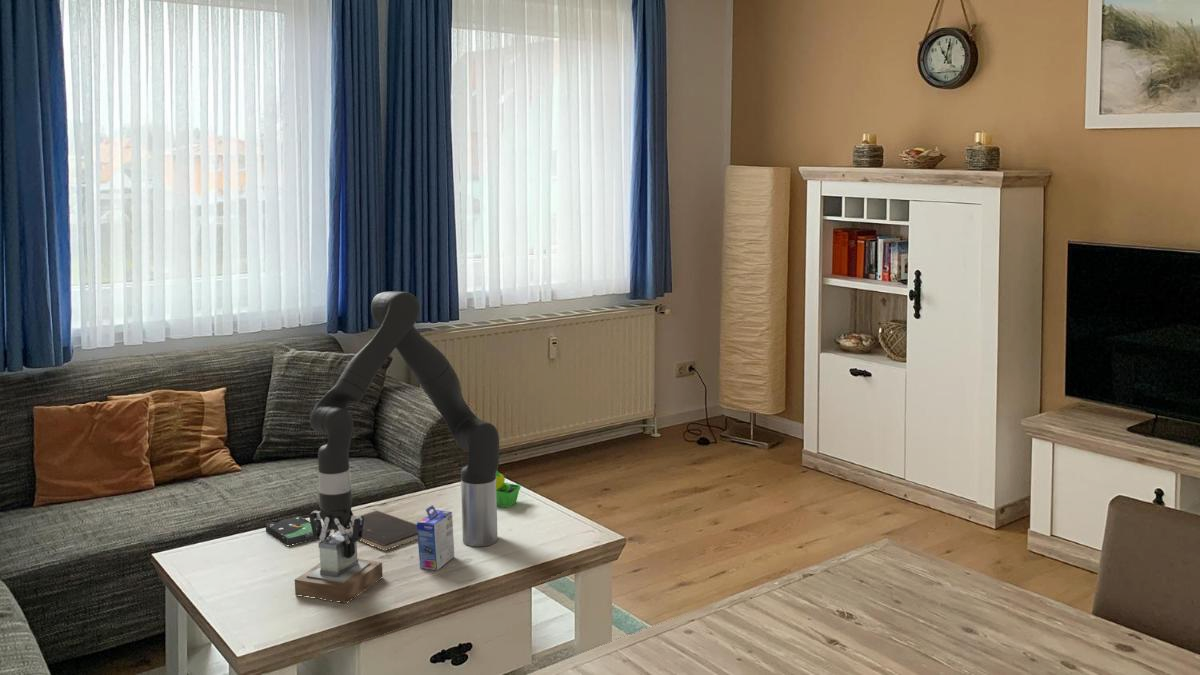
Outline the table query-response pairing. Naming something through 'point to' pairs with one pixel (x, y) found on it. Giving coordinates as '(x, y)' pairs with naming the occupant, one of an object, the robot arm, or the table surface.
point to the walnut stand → (339, 582)
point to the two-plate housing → (335, 556)
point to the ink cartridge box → (435, 539)
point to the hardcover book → (386, 530)
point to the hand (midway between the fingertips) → (338, 555)
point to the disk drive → (291, 530)
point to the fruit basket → (505, 491)
